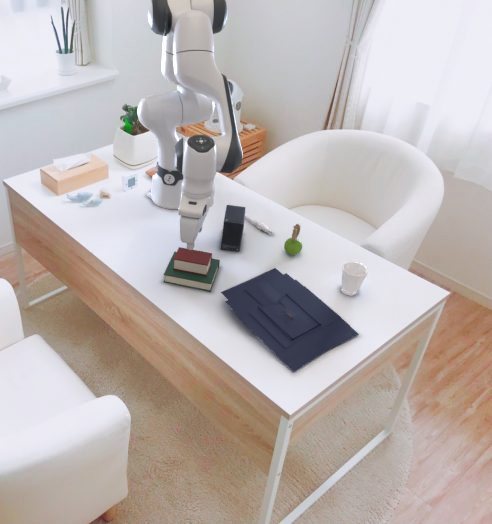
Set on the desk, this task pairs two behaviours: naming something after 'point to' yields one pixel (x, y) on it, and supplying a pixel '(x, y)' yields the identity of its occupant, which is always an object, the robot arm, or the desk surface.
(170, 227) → the desk surface
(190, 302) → the desk surface
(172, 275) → the hardcover book
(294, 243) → the snail figurine
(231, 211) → the small box
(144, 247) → the desk surface
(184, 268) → the pocket dictionary
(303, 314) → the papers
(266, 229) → the stylus pen
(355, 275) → the cup
